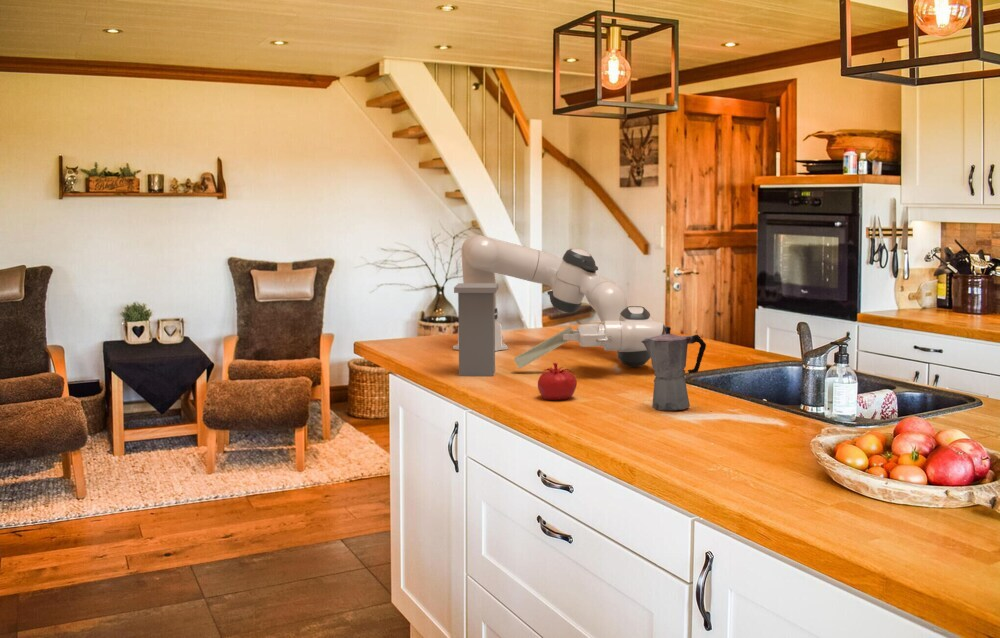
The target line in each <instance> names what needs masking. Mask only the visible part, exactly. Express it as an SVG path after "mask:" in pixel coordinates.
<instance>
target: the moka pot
mask: <svg viewBox="0 0 1000 638" xmlns="http://www.w3.org/2000/svg"><path fill="white" fill-rule="evenodd" d="M664 329H665V334H663V335H659V336H655V337H650V338H645V339H644V340H642V341H641V342H642V343H643V344H644V345H645V347H646V349H647V351H648V353H649V355H650V357H651V358H650V360H651V366H652V369H653V370H654V373H653V374H654V377H655V378H654V379H653V383H654V384H653V393H652V394H653V395H652V408H653V409H654V408H655V410H658V411H667V412H668V411H669V412H670V411H681V410H687V409H688V408H689V407H690V406H691V405H690V399H689V395H688V389H687V382H686V377H685V374H686V370H685V369H686V367H687V356H688V345H689V344H690V345H691V344H694V343H695V344H696V343H699V345H700V346H699V350H698V353H697V357H696V363H695V365H694V368H691V369H688V370H687V373H688V374H689V375H690V374H695V373H698V372H699V369H700V366H701V363H702V360H703V356H704V353H705V351H706V348H707V343H706V342H705V341H704V340H703V338H701V336H700V335H699V334H694V335H683V336H682V335H678V334H674V333H671V330H672V328H671V327H670V326H665V328H664Z"/></svg>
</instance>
